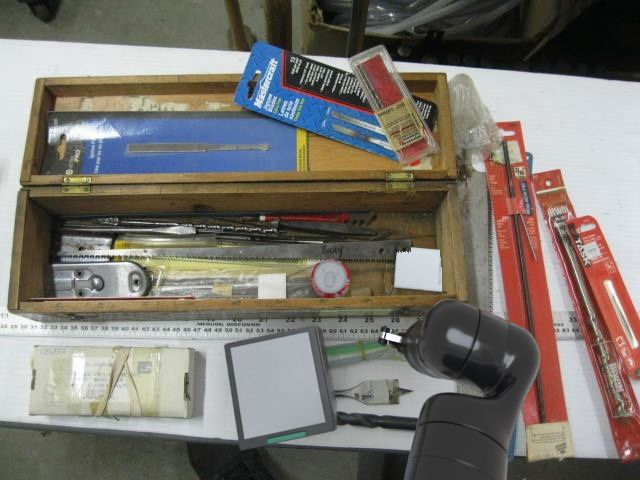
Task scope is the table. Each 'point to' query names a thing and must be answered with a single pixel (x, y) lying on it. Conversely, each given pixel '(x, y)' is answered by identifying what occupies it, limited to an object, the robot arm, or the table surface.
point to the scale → (278, 388)
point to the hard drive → (418, 270)
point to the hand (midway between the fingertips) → (414, 346)
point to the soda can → (330, 279)
